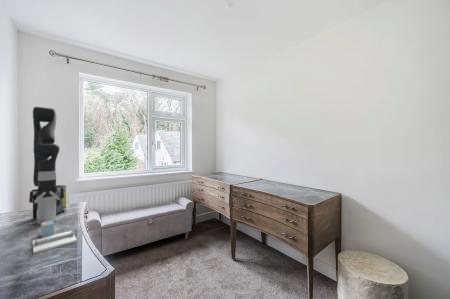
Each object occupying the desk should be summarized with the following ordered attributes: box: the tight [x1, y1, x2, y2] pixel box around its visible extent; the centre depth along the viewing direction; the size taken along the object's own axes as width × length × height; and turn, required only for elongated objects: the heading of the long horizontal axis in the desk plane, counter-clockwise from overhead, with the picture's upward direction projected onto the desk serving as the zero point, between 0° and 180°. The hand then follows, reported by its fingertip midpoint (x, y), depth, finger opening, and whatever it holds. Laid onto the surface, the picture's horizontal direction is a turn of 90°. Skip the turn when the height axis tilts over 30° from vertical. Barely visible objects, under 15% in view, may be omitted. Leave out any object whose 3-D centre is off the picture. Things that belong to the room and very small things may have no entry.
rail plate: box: [32, 230, 78, 254], centre depth 100 cm, size 16×16×2 cm
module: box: [40, 220, 55, 238], centre depth 108 cm, size 7×5×7 cm
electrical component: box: [31, 184, 67, 219], centre depth 141 cm, size 18×10×20 cm, turn 168°
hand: (47, 207), depth 108 cm, fingers open, 8 cm apart
